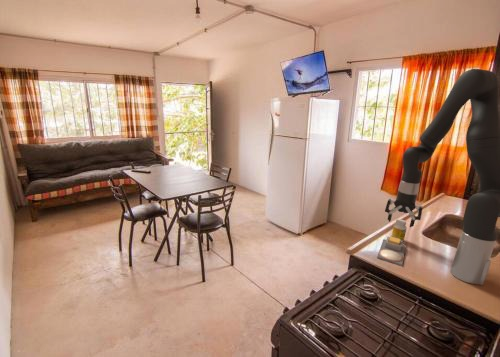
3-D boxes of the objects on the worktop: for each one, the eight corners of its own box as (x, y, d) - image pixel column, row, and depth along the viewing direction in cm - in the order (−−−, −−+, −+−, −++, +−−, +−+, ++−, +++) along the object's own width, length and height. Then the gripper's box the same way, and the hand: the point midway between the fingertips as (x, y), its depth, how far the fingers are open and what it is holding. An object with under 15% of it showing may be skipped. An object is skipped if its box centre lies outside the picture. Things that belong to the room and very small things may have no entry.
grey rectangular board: (405, 246, 115) (406, 240, 115) (401, 265, 101) (403, 259, 100) (383, 240, 120) (384, 234, 119) (376, 257, 106) (378, 251, 105)
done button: (399, 243, 114) (400, 239, 114) (398, 246, 111) (399, 242, 110) (389, 240, 116) (390, 236, 116) (388, 243, 113) (389, 239, 112)
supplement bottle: (394, 235, 125) (398, 217, 122) (405, 240, 121) (410, 222, 118) (388, 238, 122) (392, 219, 119) (400, 243, 118) (404, 224, 115)
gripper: (389, 189, 115) (381, 222, 120) (426, 197, 108) (417, 231, 113) (391, 185, 121) (384, 216, 126) (427, 192, 114) (418, 225, 119)
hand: (399, 223), depth 119 cm, fingers open, 8 cm apart
